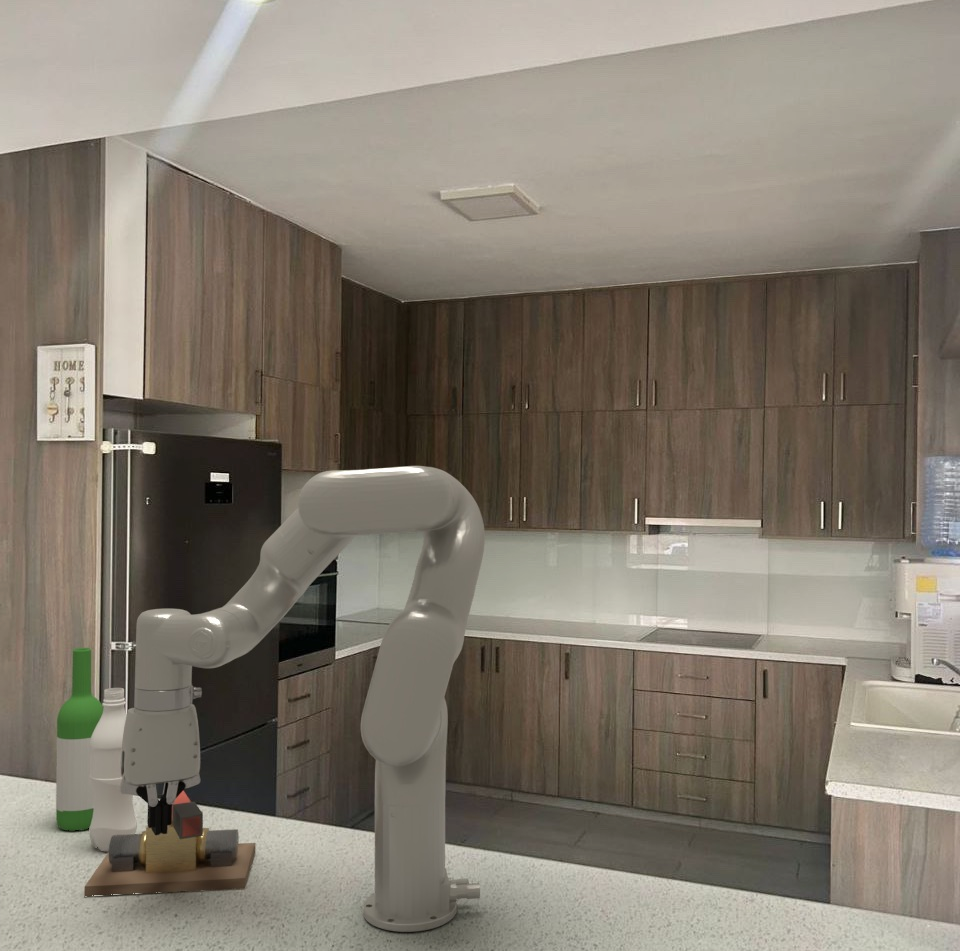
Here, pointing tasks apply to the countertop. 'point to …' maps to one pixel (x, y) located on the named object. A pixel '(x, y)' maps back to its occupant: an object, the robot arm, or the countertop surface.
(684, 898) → the countertop surface
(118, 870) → the ball valve
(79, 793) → the wine bottle
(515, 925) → the countertop surface
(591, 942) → the countertop surface
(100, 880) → the mounting board
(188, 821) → the valve lever
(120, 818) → the water bottle
